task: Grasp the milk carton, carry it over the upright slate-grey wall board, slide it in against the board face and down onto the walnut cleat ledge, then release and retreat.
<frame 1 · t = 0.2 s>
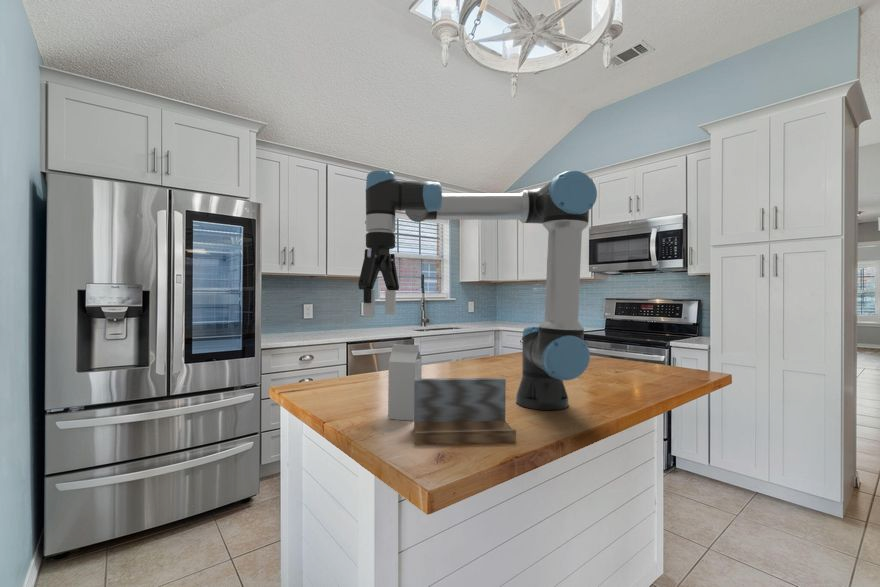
hand: (380, 315, 106), 27 cm above the countertop, fingers open, 13 cm apart
milk carton: (405, 417, 109), on the countertop
wall board: (459, 428, 99), on the countertop
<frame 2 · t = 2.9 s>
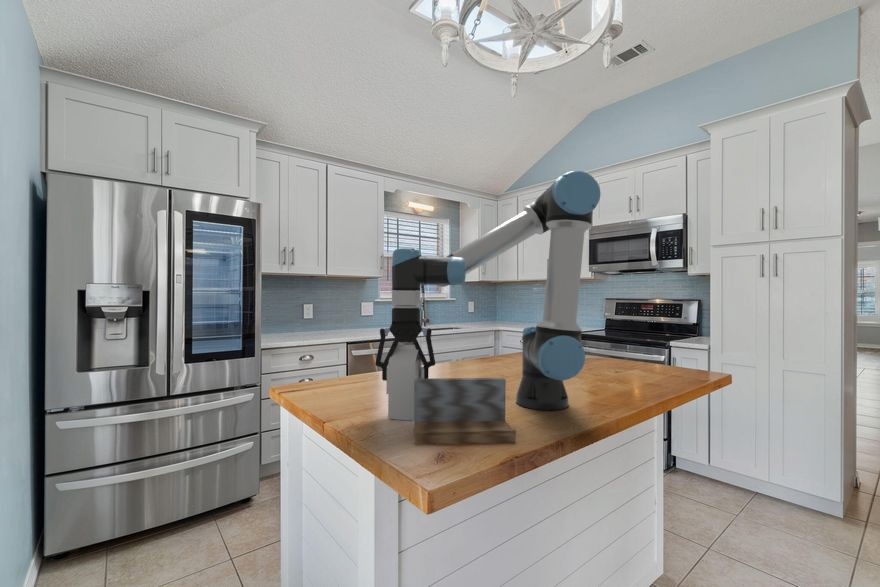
hand: (405, 392, 109), 6 cm above the countertop, fingers closed on milk carton, 8 cm apart
milk carton: (405, 417, 109), on the countertop, touching gripper
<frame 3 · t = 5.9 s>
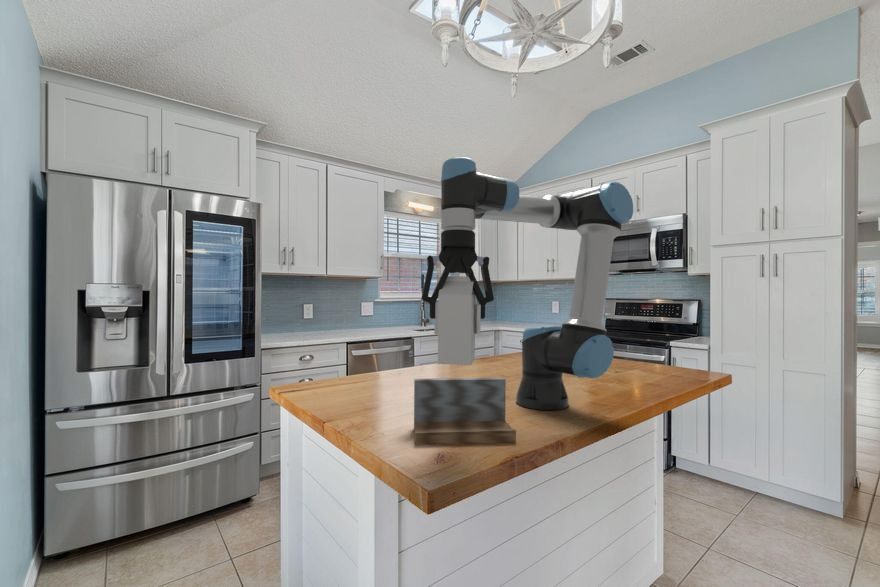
hand: (457, 333, 90), 24 cm above the countertop, fingers closed on milk carton, 8 cm apart
milk carton: (456, 363, 90), point 17 cm above the countertop, touching gripper
when the fingers open (9 cm above the countertop, at t = 9.1 s): milk carton stays where it is, resting on wall board.
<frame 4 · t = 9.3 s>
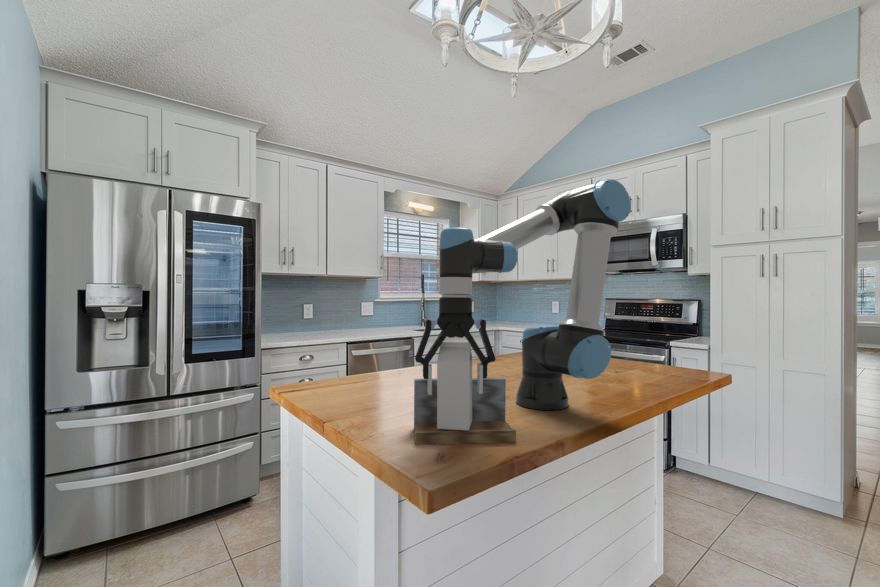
hand: (454, 392, 94), 10 cm above the countertop, fingers open, 11 cm apart
milk carton: (455, 426, 93), point 2 cm above the countertop, touching wall board
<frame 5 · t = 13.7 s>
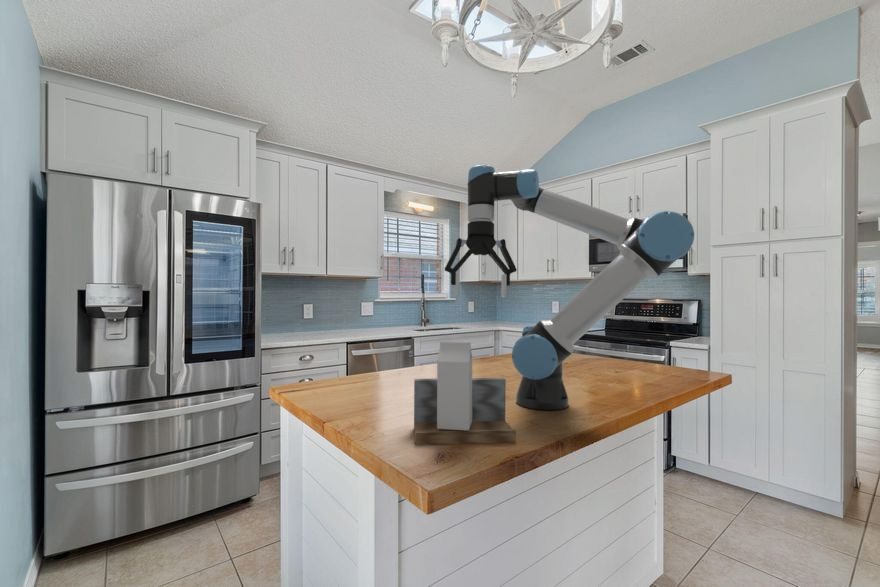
hand: (480, 297, 116), 32 cm above the countertop, fingers open, 13 cm apart
nothing on the countertop moved.
at the end: milk carton inside the target area (0.9 cm from its centre), point 2.3 cm above the countertop; milk carton tilted 2°; the gripper is holding nothing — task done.
